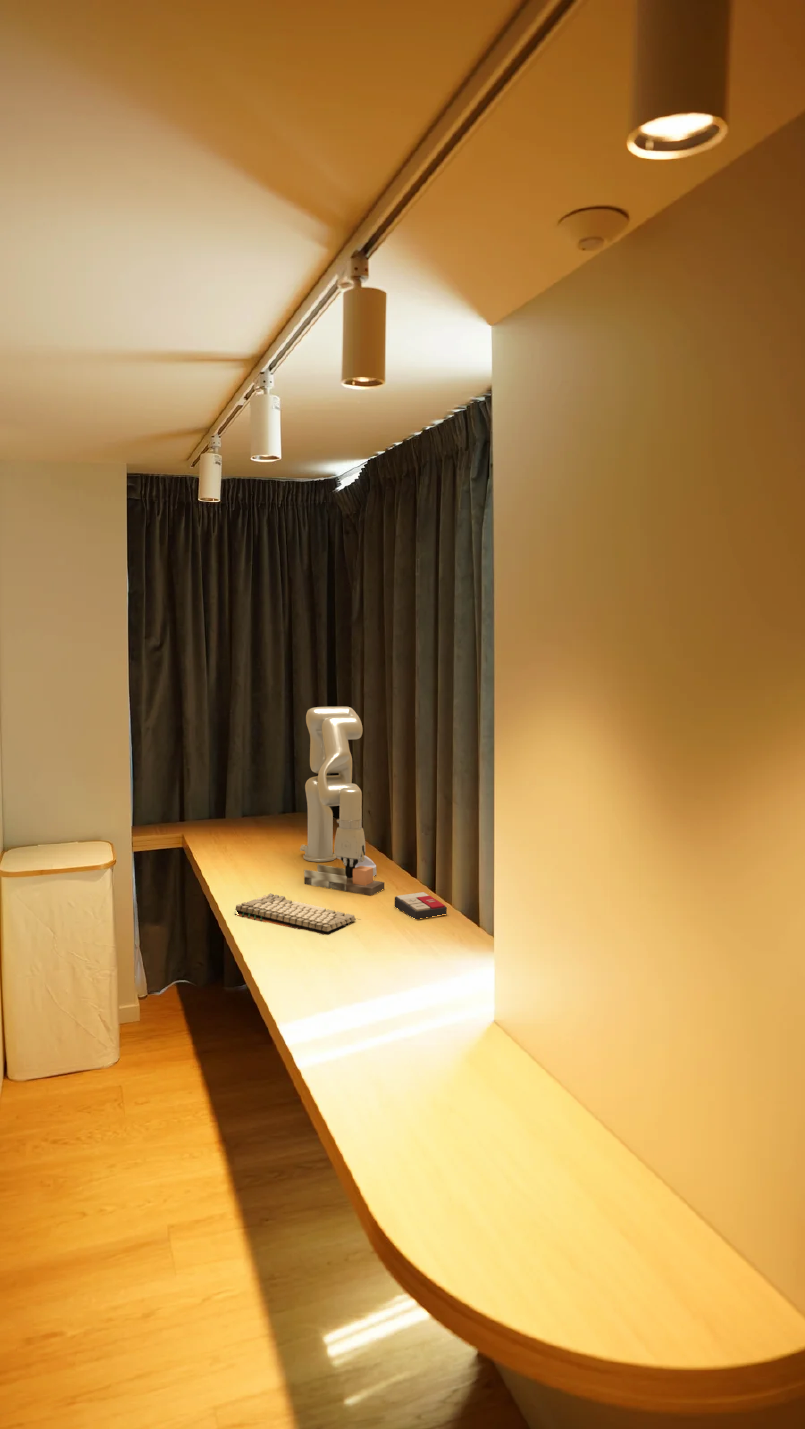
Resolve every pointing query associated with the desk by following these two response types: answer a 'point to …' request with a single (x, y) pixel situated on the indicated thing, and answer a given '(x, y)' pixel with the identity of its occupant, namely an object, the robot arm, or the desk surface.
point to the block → (362, 875)
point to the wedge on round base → (367, 864)
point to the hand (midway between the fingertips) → (350, 876)
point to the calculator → (419, 905)
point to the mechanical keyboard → (294, 914)
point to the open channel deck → (339, 880)
